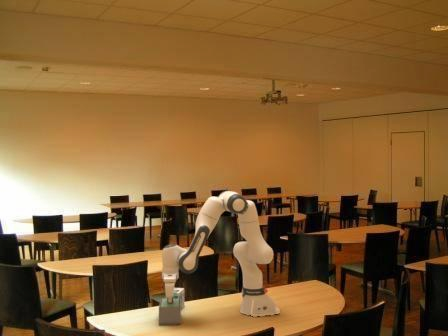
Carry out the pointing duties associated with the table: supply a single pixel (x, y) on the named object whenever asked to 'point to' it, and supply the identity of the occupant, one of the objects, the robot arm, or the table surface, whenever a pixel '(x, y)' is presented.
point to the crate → (169, 314)
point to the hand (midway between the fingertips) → (170, 300)
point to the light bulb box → (179, 295)
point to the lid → (173, 304)
